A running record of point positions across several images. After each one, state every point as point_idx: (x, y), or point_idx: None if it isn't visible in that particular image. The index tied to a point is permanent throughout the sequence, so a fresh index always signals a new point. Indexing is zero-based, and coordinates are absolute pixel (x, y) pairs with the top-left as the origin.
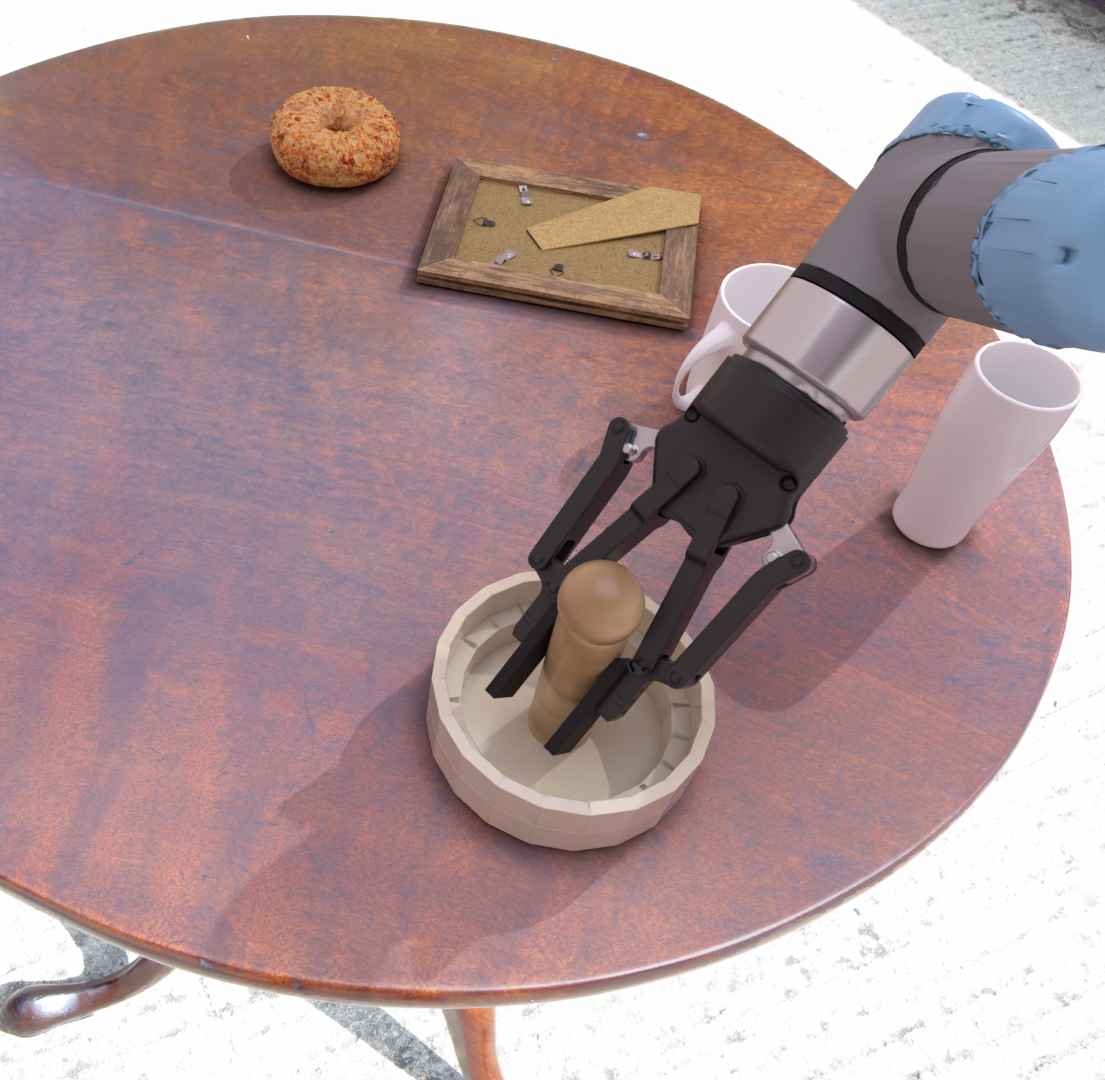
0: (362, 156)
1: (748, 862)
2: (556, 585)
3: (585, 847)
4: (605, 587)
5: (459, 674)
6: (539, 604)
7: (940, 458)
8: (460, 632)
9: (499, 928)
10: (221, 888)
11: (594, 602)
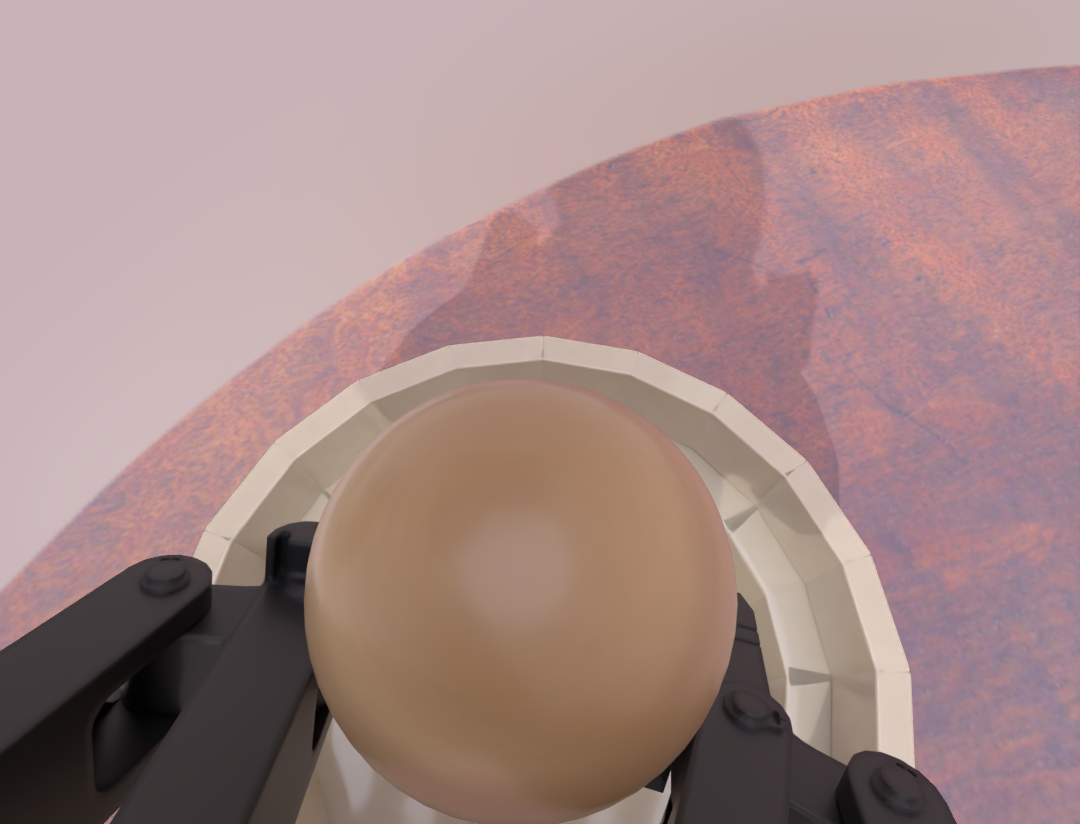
0: None
1: None
2: (745, 715)
3: None
4: (505, 455)
5: (768, 583)
6: (743, 677)
7: None
8: (848, 641)
9: (446, 309)
10: (784, 171)
11: (520, 398)
